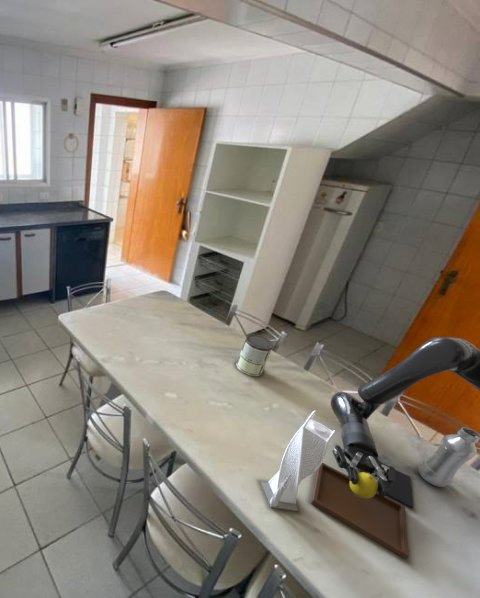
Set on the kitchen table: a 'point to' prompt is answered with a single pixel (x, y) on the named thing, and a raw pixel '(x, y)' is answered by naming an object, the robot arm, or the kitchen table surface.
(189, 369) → the kitchen table surface
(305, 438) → the skyscraper
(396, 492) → the plate
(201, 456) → the kitchen table surface
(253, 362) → the coffee can
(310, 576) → the kitchen table surface
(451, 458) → the silver metal flask
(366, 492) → the lemon
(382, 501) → the tray
